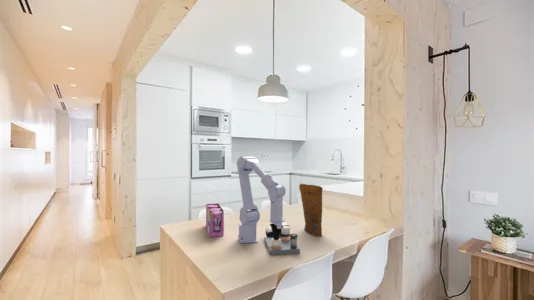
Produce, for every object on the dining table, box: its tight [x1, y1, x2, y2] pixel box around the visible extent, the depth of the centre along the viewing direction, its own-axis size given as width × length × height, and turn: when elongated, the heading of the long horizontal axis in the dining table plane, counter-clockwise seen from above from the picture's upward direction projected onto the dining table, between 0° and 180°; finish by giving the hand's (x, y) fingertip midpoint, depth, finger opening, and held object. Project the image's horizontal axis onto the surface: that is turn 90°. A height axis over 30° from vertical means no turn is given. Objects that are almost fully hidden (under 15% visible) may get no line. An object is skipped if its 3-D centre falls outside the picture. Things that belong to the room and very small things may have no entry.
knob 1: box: [271, 238, 281, 248], centre depth 124 cm, size 4×4×3 cm
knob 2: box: [281, 226, 291, 235], centre depth 135 cm, size 4×4×3 cm
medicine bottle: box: [265, 221, 291, 237], centre depth 142 cm, size 7×7×12 cm
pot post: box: [290, 233, 298, 249], centre depth 123 cm, size 4×4×6 cm
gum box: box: [205, 203, 225, 238], centre depth 153 cm, size 24×8×14 cm, turn 18°
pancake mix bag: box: [298, 183, 323, 237], centre depth 152 cm, size 7×19×28 cm, turn 27°
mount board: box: [263, 236, 301, 256], centre depth 129 cm, size 14×18×2 cm
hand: (276, 239), depth 124 cm, fingers closed, pressing on knob 1
